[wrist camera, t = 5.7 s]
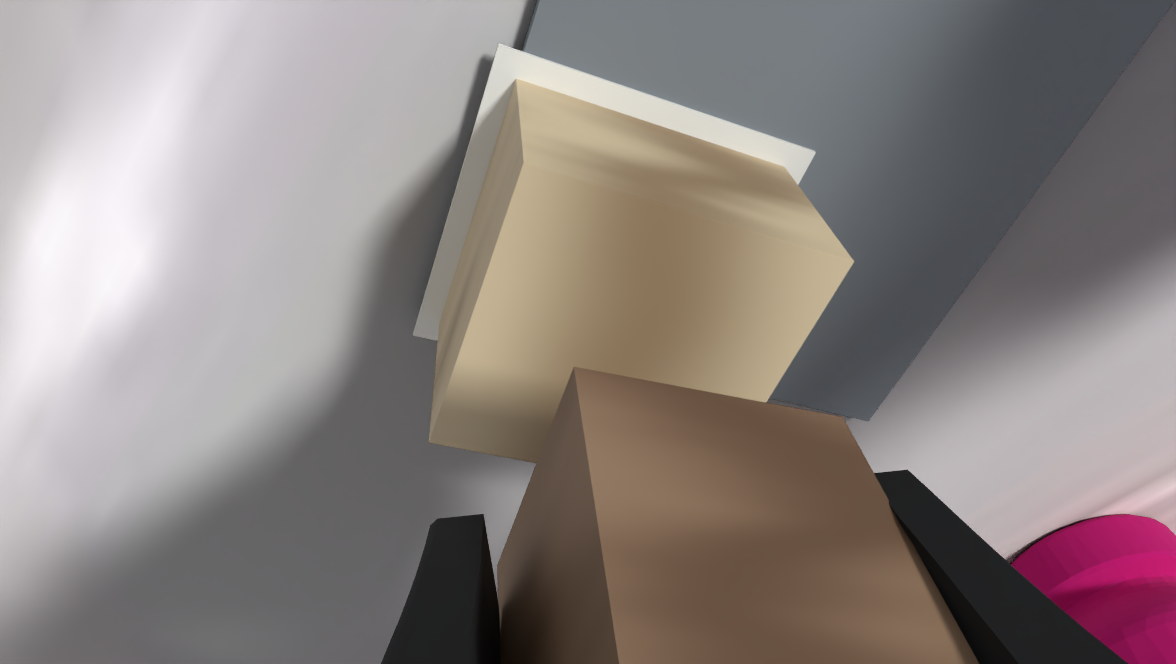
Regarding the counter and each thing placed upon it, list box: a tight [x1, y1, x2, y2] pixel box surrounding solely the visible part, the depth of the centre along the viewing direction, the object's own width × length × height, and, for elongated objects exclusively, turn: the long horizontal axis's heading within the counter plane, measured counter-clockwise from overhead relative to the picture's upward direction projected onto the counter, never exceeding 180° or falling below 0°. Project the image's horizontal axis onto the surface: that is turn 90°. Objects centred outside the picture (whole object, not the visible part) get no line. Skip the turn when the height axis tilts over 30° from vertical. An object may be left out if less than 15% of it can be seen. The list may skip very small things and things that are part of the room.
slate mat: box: [413, 0, 1175, 421], centre depth 17 cm, size 12×14×1 cm
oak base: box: [429, 78, 854, 463], centre depth 16 cm, size 6×6×4 cm
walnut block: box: [497, 367, 979, 664], centre depth 10 cm, size 4×4×4 cm
